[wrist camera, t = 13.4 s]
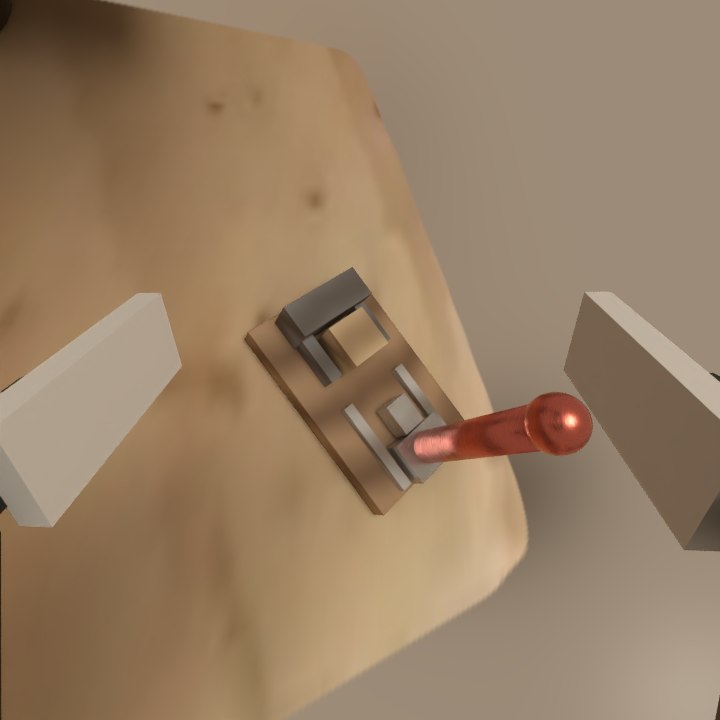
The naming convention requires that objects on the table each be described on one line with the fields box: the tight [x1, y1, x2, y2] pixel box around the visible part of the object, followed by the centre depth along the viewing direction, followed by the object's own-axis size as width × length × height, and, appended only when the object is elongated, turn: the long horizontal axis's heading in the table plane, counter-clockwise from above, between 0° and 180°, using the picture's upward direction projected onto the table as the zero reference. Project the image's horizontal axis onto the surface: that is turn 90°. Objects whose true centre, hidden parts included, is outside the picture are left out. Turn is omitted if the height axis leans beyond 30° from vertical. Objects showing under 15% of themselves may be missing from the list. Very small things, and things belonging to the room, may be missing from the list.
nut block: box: [317, 307, 388, 378], centre depth 38 cm, size 4×4×4 cm
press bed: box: [245, 267, 464, 515], centre depth 39 cm, size 20×13×6 cm, turn 40°
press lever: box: [376, 392, 593, 484], centre depth 31 cm, size 7×5×18 cm
